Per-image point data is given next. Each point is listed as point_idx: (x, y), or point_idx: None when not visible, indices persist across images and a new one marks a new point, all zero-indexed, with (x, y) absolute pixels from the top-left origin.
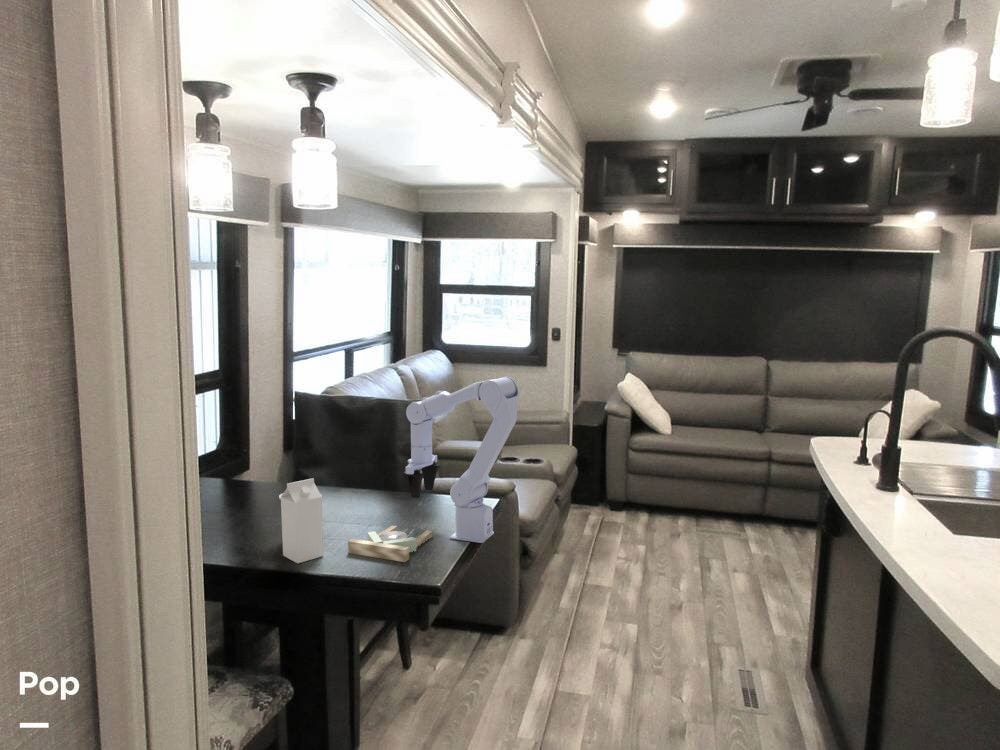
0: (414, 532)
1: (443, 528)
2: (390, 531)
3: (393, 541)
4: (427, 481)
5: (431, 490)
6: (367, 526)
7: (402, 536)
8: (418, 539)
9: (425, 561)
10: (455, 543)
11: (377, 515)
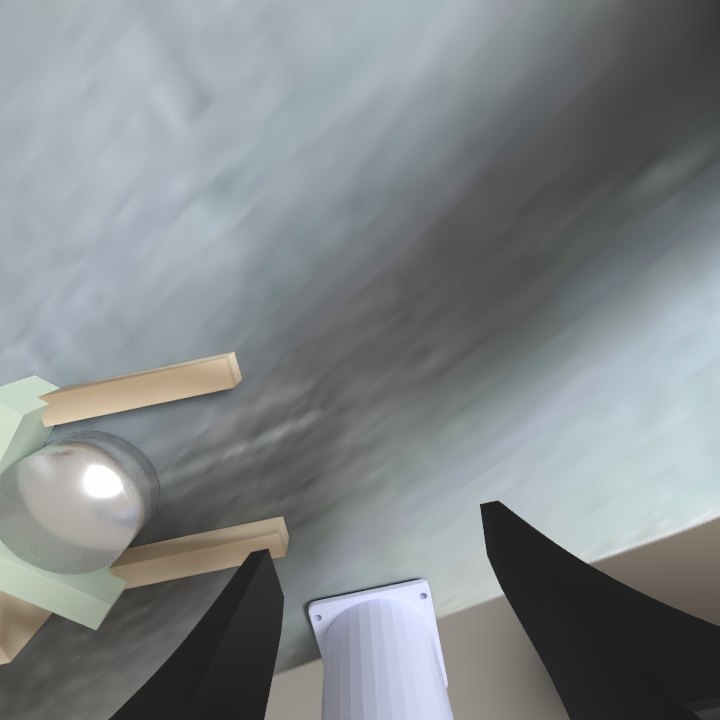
0: (283, 447)
1: (396, 511)
2: (93, 468)
3: (2, 576)
4: (523, 582)
5: (487, 554)
6: (199, 189)
7: (88, 555)
8: (169, 573)
9: (83, 661)
10: (286, 637)
11: (372, 94)
